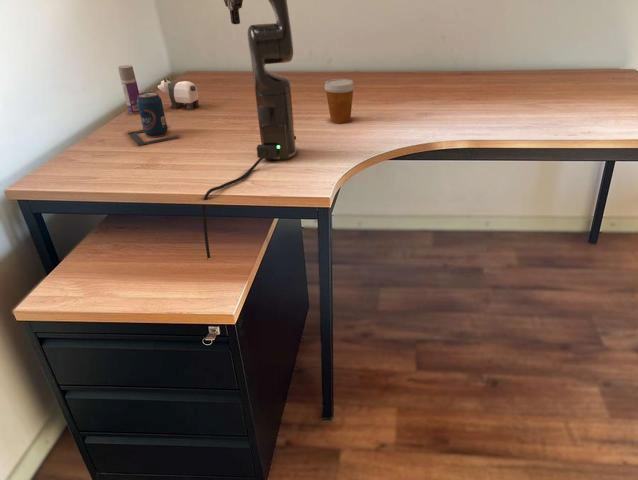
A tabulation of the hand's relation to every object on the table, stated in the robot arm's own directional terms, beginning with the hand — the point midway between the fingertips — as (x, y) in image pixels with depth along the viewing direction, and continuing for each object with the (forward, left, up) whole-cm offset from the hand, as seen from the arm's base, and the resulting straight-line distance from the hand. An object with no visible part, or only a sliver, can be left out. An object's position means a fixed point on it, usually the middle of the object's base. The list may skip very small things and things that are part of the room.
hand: (235, 23), depth 161 cm
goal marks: (-14, +26, -29) cm, 41 cm away
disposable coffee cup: (0, -30, -29) cm, 42 cm away
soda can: (-13, +26, -29) cm, 41 cm away
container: (+10, +41, -29) cm, 51 cm away
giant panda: (+16, +27, -29) cm, 43 cm away
